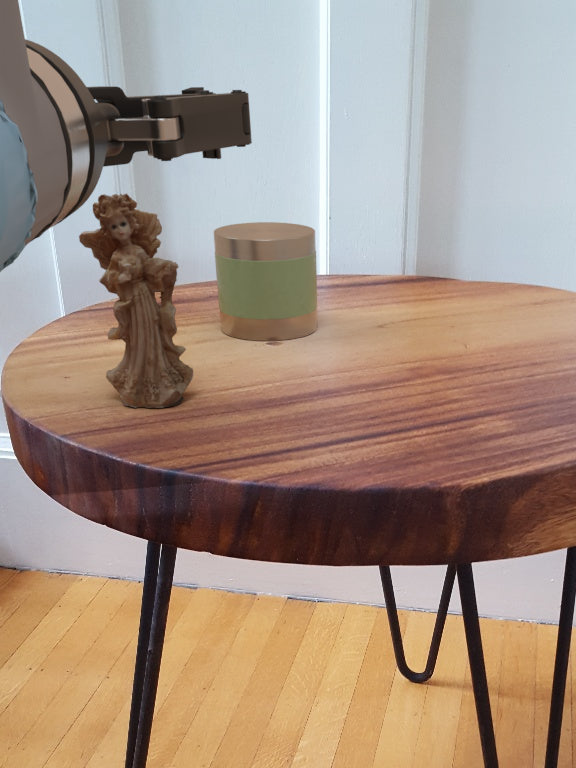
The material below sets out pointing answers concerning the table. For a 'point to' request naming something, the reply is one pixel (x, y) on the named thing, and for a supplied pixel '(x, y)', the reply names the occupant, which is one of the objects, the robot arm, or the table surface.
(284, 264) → the tin can
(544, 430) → the table surface
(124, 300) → the figurine
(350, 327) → the table surface
